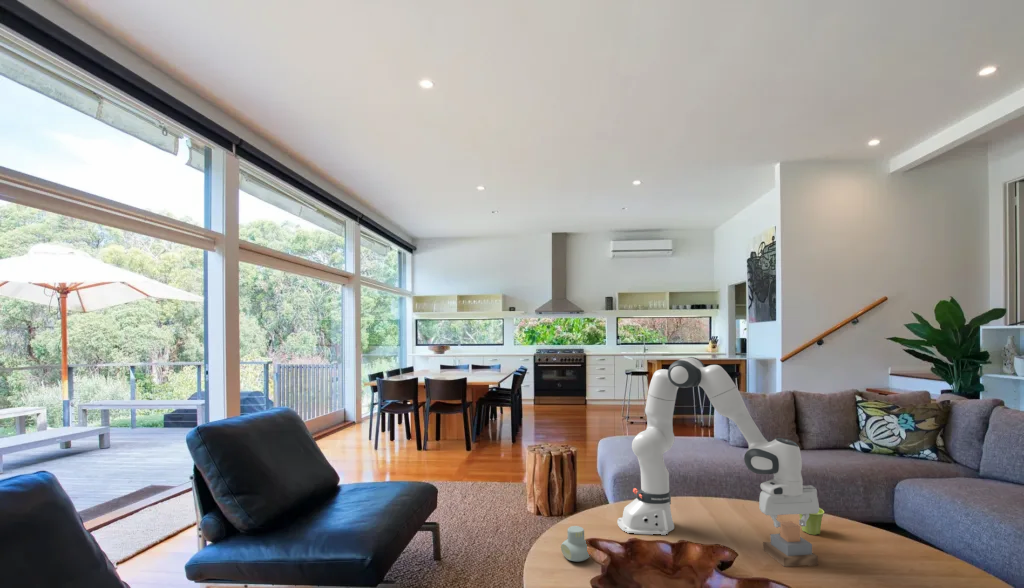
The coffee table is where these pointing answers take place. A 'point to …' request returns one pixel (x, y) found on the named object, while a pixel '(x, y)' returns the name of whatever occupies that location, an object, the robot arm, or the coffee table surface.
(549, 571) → the coffee table surface
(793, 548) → the upper tower block
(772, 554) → the lower tower block
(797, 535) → the rust cube
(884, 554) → the coffee table surface
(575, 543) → the air freshener
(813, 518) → the plant pot
